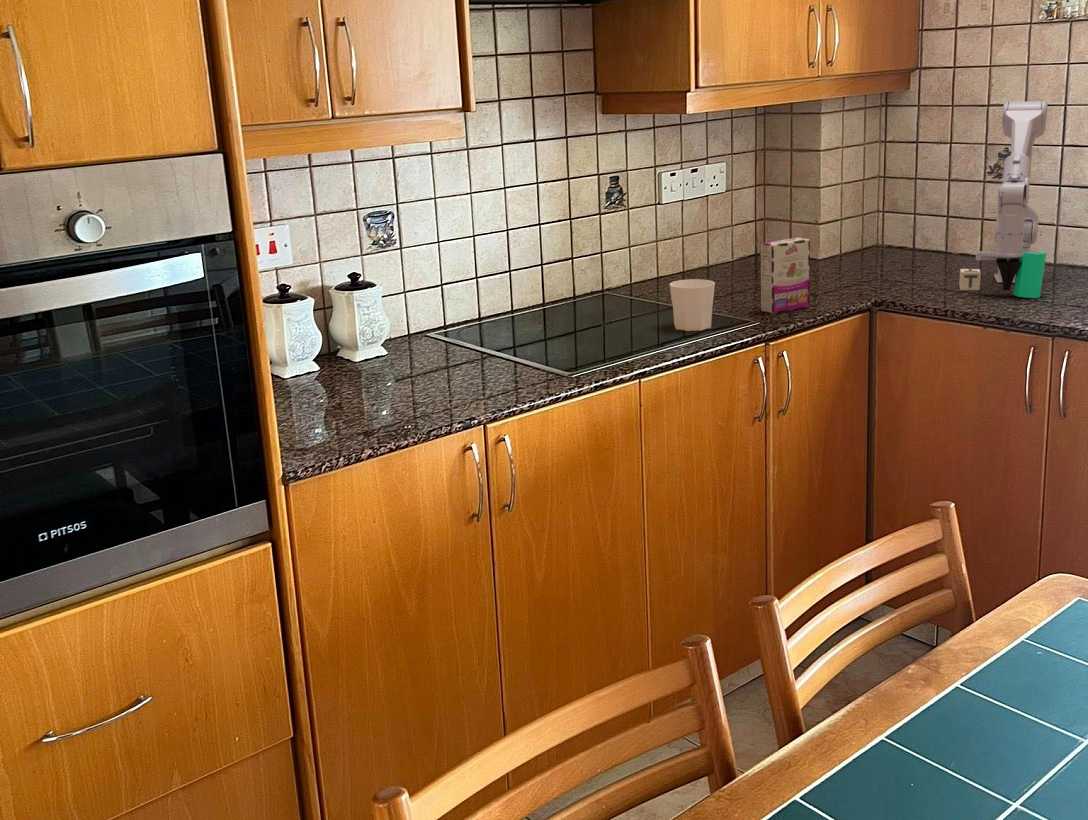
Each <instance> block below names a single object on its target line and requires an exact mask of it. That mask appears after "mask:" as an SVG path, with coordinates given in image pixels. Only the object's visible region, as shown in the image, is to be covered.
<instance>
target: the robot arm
mask: <svg viewBox="0 0 1088 820" xmlns="http://www.w3.org/2000/svg"><path fill="white" fill-rule="evenodd" d="M1047 117H1048V102H1047V101H1046V100H1044V99H1043V100H1035V101H1034V100H1031V101H1030V100H1029V101H1005V102H1004V104H1003V107H1002V118H1001V125H1002V131H1003V133H1004V136H1005V137H1008V138H1010V140H1011V144H1010V146H1011V147H1010V155H1009V156H1007V157H1006V158H1005V159H1004V166H1003V170H1002V179H1001V183H999V186H998V191H997V206H998V207H997V215H996V221H995V226H994V235H993V236H994V239H993V240H994V242H995V243H996V250H995V249H994V250H976V253H975V260H976V261H982V260H983V261H996V264H997V267H998V269H997V273H994V275H993V276H994V279H995V280H996V283H1000V284H1001V283H1002V290H1003V291H1004V292H1011V288H1012V284H1015V277H1016V273H1017V271H1018V269H1019V268H1020V266H1021V262H1020V261H1019V257H1023V255H1024V253H1021V252H1023V251H1022V250H1024V252H1025V253H1031V254H1043V252H1042V251H1043V250H1036V251H1034V250H1031V246H1032V245H1035V244H1036V243H1037V241H1038V232H1039V214H1038V211H1036V210H1034V209H1033V208H1032V207H1031V206H1029V204H1028V203H1029V199H1030V197H1029V196H1030V181H1031V179H1030V178H1031V170H1032V168H1031V167H1032V158H1033V157H1032V156H1033V147H1034V144H1035V141H1036V139H1037V138H1040V137H1043V136H1044V134H1045V133H1044V132H1045V131H1046V124H1047ZM1026 218H1027V219H1026ZM1028 218H1029V219H1028ZM1032 252H1033V253H1032Z"/></svg>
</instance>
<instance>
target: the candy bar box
mask: <svg viewBox="0 0 1088 820" xmlns="http://www.w3.org/2000/svg"><path fill="white" fill-rule="evenodd" d="M810 251H811V239H810V238H803V237H792V238H786V239H778V240H774V241H773V240H772V241H767V242H761V243H760V310H761V312H763V313H767V314H771V315H777V314H781V313H786V312H792V311H797V310H802V309H803V310H804V309H808V308H810V296H811V295H810V289H811V288H810V286H811V284H810V281H811V279H810V276H811V274H810V270H811V269H810V268H811V267H810V264H811V261H810V260H811V256H810V255H811V252H810Z"/></svg>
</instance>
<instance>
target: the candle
mask: <svg viewBox="0 0 1088 820" xmlns="http://www.w3.org/2000/svg"><path fill="white" fill-rule="evenodd" d="M1032 245H1033V247H1032V251H1037V250H1036V249H1035V244H1032ZM1022 251H1023V252H1021V253H1024V255H1023V257H1019V261H1020V262H1021V266H1020V268H1019V269H1018V271H1017V273H1016V277H1015V283H1013V284H1014V285H1013V292H1012V295H1013V296H1015V297H1018V298H1026V299H1028V298H1029V299H1038V298H1040V297H1041V292H1042V287H1043V286H1042V285H1043V278H1044V271H1045V266H1046V259H1047V252H1046V251H1043V250H1041V251H1042V252H1043V254H1031V253H1025V252H1024V250H1022ZM1032 253H1033V252H1032Z"/></svg>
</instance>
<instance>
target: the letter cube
mask: <svg viewBox="0 0 1088 820" xmlns="http://www.w3.org/2000/svg"><path fill="white" fill-rule="evenodd" d="M981 274H982V272H981V270H980V268H960V269H959V282H958V284H959V286H958V287H959V290H960V291H980V290H981Z"/></svg>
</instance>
